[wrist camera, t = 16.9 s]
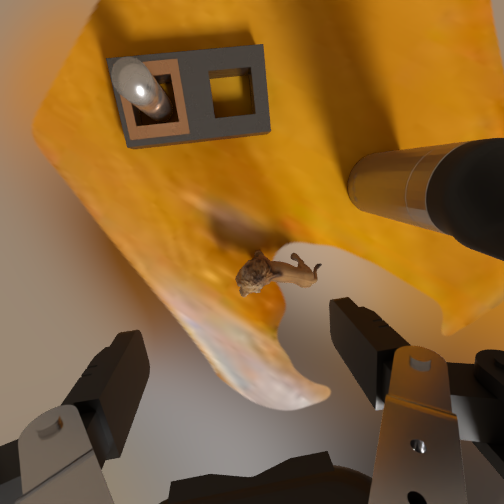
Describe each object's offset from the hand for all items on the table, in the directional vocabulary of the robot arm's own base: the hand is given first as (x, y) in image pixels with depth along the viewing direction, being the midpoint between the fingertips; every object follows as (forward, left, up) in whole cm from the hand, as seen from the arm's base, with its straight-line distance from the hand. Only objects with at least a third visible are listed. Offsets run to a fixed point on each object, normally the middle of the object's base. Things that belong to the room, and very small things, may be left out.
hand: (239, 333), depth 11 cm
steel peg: (+7, -16, -32) cm, 36 cm away
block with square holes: (+2, -16, -32) cm, 36 cm away
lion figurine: (-7, +9, -32) cm, 34 cm away
